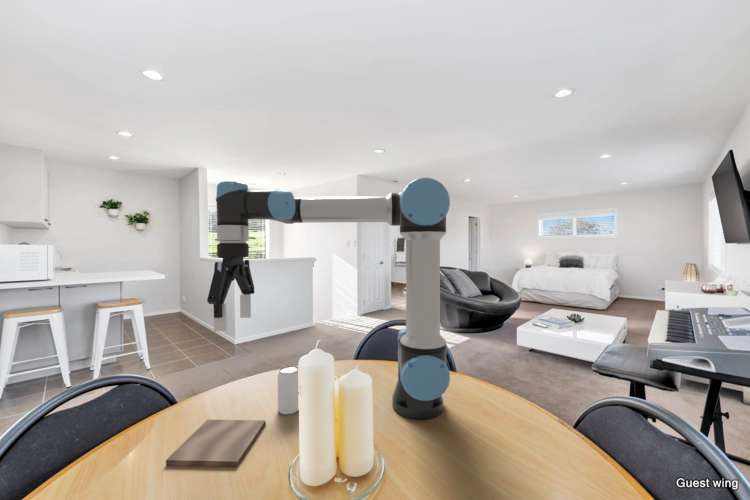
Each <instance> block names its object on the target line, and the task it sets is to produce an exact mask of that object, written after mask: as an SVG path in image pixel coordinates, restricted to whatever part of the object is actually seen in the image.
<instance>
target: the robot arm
mask: <svg viewBox="0 0 750 500" xmlns="http://www.w3.org/2000/svg"><path fill="white" fill-rule="evenodd" d="M215 201H216V240H217V241H218V242H219V243H217V245H216V257H218V258H220V259H221V258H222V261H215V262H214V266H213V268H214V271H213V275H212V280H211V284H210V287H209V291H208V295H207V299H206V301H207V303H208V305H213V331H214V332H226V331H227V329H228V328H227V326H228V324H227V322H228V321H227V320H228V319H227V303H226V302H225V301H226V297H227V295H228V293H229V290H230V288H231V284H232V282H233V281H236V284H237V286H238V288H239V290H240V292H241V294H240V295H239V311H240V313H239V315H240V316H239V317H240V318H241V319H242V318H243V319H249V318H252V308H251V307H252V306H251V305H252V304H251V302H252V300H251V299H252V298H251V297H252V296H251V295H254V294H255V285H254V281H253V276H252V272H251V268H250V259H244V258H248V257H249V255H250V250H249V248H250V247H249V246H250V245H249V244H248V243H247V242H248V241H250V235H249V234H250V233H249V230H250V229H249V220H270V221H275V222H280V223H283V224H286V225H289V224H291V225H292V224H296V223H298V224H299V223H306V224H307V223H387V224H388V225H389V226H392V227H393V226H394V227H395V226H397V227H398V226H399V234H400V236H401V237H402V238H403V239H404V240H405V328H402V329H400V330H399V331H398V332H397V333H398V334H397V339H396V340H397V382H396V385H395V388H394V391H393V395H392V404H391V405H392V409H393V410H394V411H395V412H396V413H397V414H399V415H401V416H403V417H405V418H409V419H413V420H430V419H432V418H435V417H437V416H439V415H441V413H442V412H443V410H444V399H443V395H444V394H445V393H446V391H447V390H448V388H449V386H450V382H451V379H450V378H451V377H450V375H451V373H450V368H449V366H448V365H447V340H446V339H445V337H443V336H442V334H441V240H442V238H443V237H444V236H446V234H447V214H448V212H449V210H450V207H451V205H450V204H451V198H450V193H449V192H448V189H447V188H446V186H445V185H444V184H443V183H441V182H440V181H439V180H437V179H435V178H432V177H419V178H416V179H414V180H412V181H411V182H409V183H408V184H406V185H405V186H404V188H403V189H402V191H401V192H389V194H388V195H387V196H319V197H318V196H317V197H315V196H313V197H312V196H311V197H309V196H308V197H306V196H304V197H300V196H299V197H298V196H297V197H296V196H295V195H294V194H293V192H292V191H291V190H287V189H282V190H281V189H273V190H272V189H266V190H265V189H262V190H261V189H260V190H256V189H255V190H250V189H249V186H248V185H247V183H245V182H241V181H232V180H231V181H230V180H226V181H221V182H218V184H217V186H216V197H215Z"/></svg>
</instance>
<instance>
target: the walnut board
mask: <svg viewBox="0 0 750 500" xmlns="http://www.w3.org/2000/svg"><path fill="white" fill-rule="evenodd" d="M265 426H266V420H262V419H261V420H260V419H259V420H257V419H256V420H255V419H247V420H246V419H206V420H205V421H204V422H203V423H202V424H201V425H200V426H199V427H198V428H197V429H196V430H195V431H193V433H192V434H191V435H190V436H189V437H188V438H187V439H186V440H185V441H184V442H183V443H182V444H180V446H178V448H177V449H176V450H175V451H174V452H173V453H172V454H171V455H169V456H168V458H166V460H165V465H166V466H171V467H173V466H175V467H177V466H179V467H181V466H182V467H219V468H220V467H227V468H232V467H233V468H238V467H239V466H240V464H241V463H242V461H243V460H244V459H245V456H246V455H247V453H248V452H249V450H250V449H251V447H252V446H253V444H254V443H255V441H257V438H258V437H259V435H260V434H261V432H262V431H263V429H264V428H265Z"/></svg>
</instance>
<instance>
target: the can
mask: <svg viewBox="0 0 750 500" xmlns="http://www.w3.org/2000/svg"><path fill="white" fill-rule="evenodd" d="M298 368H299V366H297V365H284V366H282V367H280V368H279V369H278V374H277V411H278V413H279V414H281V415H286V416H288V415H293V414H296V413H297V412H299V410H298V394H299V392H298V388H299V387H298V370H299V369H298Z"/></svg>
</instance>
